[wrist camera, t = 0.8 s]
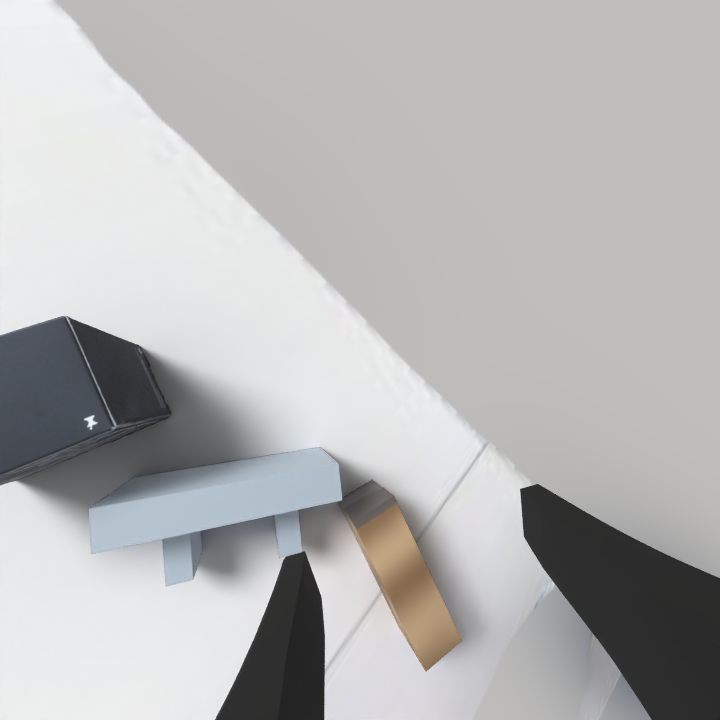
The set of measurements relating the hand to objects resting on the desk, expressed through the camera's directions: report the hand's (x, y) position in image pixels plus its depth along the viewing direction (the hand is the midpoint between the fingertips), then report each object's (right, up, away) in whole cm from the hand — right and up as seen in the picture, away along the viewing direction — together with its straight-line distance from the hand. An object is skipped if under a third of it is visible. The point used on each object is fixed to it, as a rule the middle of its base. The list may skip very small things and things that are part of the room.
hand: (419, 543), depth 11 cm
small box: (-22, +3, +14) cm, 26 cm away
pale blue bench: (-12, -5, +16) cm, 20 cm away
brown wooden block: (+1, -11, +19) cm, 23 cm away
